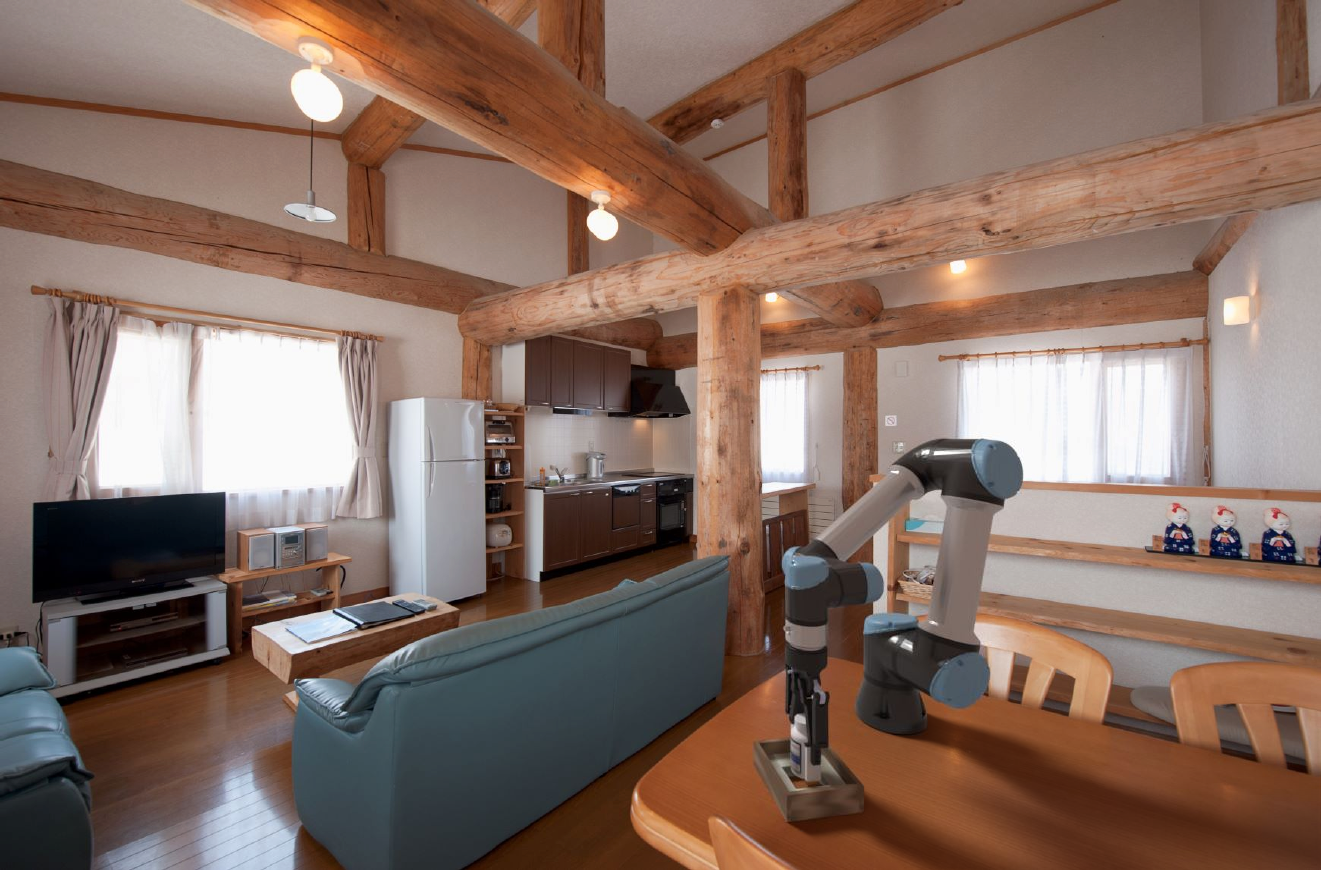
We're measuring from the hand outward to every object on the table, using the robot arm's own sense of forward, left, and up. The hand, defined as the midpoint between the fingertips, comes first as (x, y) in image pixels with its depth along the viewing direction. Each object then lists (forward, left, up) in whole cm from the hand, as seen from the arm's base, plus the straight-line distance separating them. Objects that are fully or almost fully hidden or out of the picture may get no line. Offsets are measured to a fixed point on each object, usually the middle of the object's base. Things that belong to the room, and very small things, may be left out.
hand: (805, 768), depth 100 cm
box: (0, 0, -3) cm, 3 cm away
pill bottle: (0, 0, -1) cm, 1 cm away
